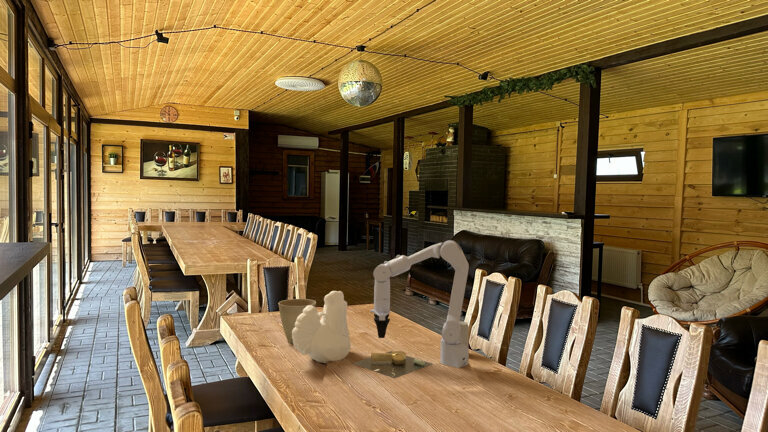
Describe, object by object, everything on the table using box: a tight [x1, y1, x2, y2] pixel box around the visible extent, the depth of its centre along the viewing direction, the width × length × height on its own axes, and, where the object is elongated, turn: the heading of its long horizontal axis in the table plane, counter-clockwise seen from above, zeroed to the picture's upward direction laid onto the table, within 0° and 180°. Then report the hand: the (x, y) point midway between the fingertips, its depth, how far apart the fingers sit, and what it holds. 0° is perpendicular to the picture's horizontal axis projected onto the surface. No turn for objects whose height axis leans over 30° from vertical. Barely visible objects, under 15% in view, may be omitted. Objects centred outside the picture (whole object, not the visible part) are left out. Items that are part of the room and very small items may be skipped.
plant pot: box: [277, 298, 317, 345], centre depth 208 cm, size 15×15×16 cm
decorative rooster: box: [292, 290, 352, 364], centre depth 184 cm, size 25×16×25 cm, turn 129°
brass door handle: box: [370, 350, 407, 365], centre depth 179 cm, size 12×5×3 cm, turn 91°
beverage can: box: [459, 320, 470, 348], centre depth 195 cm, size 6×6×12 cm
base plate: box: [351, 350, 433, 379], centre depth 178 cm, size 20×20×3 cm
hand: (381, 335), depth 185 cm, fingers open, 5 cm apart
